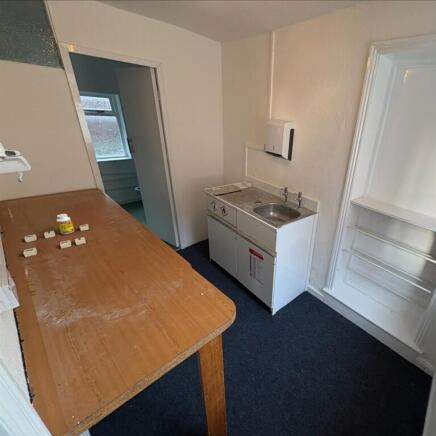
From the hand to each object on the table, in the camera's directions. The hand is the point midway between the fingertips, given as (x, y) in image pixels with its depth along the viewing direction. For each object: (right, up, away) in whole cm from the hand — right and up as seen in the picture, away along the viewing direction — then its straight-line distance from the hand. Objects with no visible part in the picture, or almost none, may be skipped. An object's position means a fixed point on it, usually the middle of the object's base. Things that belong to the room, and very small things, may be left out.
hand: (6, 183), depth 109 cm
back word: (+10, -25, +16) cm, 31 cm away
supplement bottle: (+12, -24, +18) cm, 32 cm away
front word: (+21, -31, +3) cm, 38 cm away
